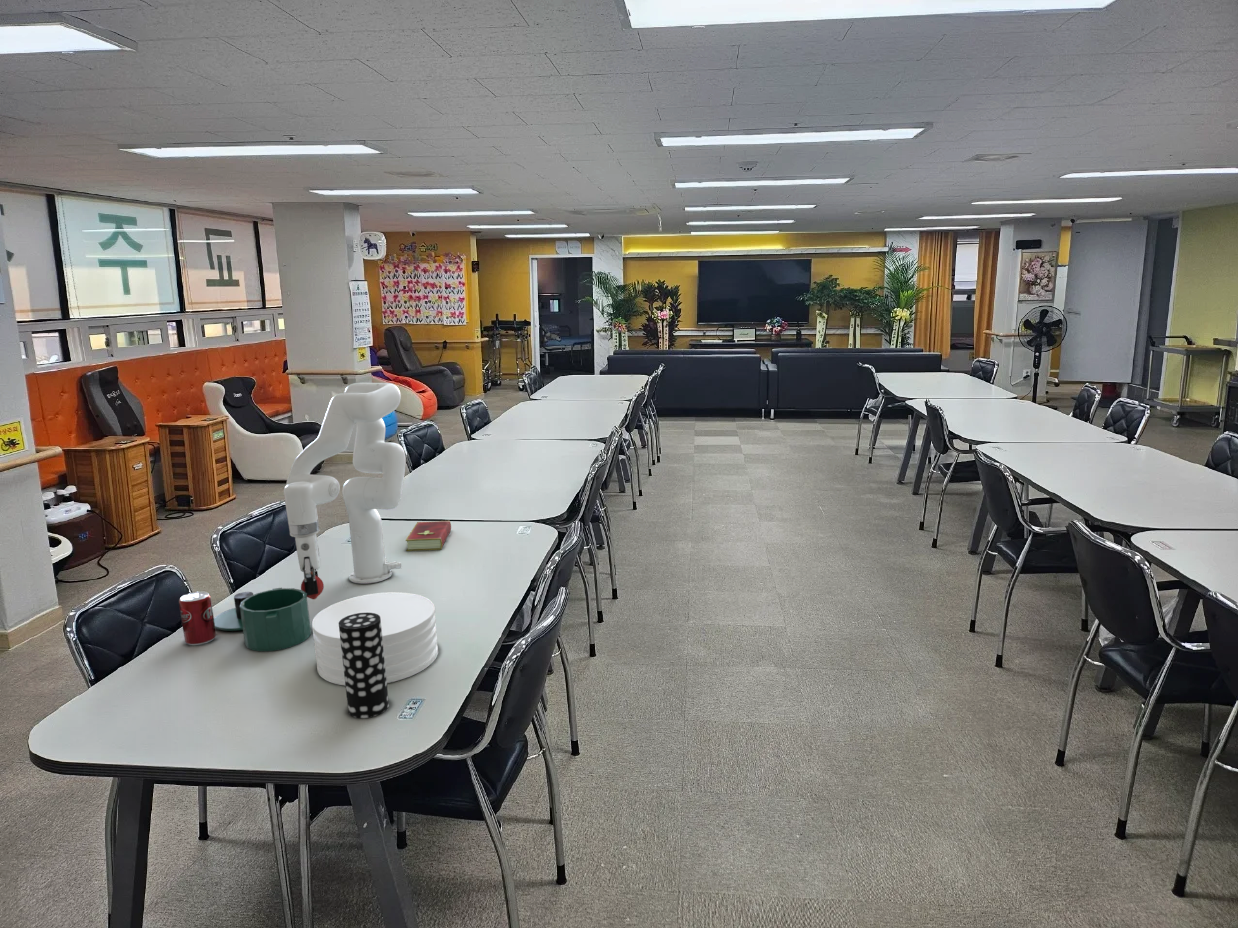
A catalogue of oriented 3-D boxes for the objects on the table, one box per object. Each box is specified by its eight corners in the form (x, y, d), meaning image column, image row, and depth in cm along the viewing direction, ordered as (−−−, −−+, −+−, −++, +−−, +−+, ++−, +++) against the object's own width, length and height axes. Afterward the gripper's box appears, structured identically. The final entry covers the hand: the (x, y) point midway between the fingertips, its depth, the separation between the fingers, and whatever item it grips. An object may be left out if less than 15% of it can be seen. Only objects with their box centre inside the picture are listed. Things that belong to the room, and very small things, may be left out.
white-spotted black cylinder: (353, 699, 179) (343, 613, 174) (392, 697, 179) (383, 611, 175) (344, 719, 170) (334, 629, 166) (384, 716, 171) (375, 627, 167)
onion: (317, 604, 223) (313, 576, 221) (298, 603, 224) (294, 575, 222) (329, 595, 229) (325, 568, 227) (310, 594, 230) (306, 567, 228)
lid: (282, 604, 234) (279, 580, 232) (277, 626, 218) (274, 601, 216) (217, 613, 229) (213, 588, 227) (208, 636, 213) (204, 610, 211)
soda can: (185, 648, 206) (178, 603, 204) (185, 638, 213) (178, 594, 210) (217, 642, 210) (210, 598, 207) (216, 632, 216) (209, 589, 213)
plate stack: (373, 697, 179) (369, 648, 177) (291, 668, 194) (286, 623, 191) (462, 648, 202) (458, 604, 200) (382, 625, 217) (378, 585, 214)
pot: (312, 618, 223) (307, 581, 221) (309, 649, 204) (304, 610, 202) (250, 626, 219) (245, 589, 216) (240, 660, 199) (235, 619, 197)
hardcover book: (451, 531, 298) (450, 519, 297) (442, 549, 278) (441, 537, 277) (418, 532, 298) (417, 521, 297) (406, 551, 277) (405, 539, 276)
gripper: (317, 535, 215) (326, 599, 219) (319, 516, 231) (327, 576, 235) (287, 539, 212) (296, 603, 217) (291, 520, 228) (299, 580, 233)
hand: (312, 589), depth 226 cm, fingers closed on onion, 5 cm apart
